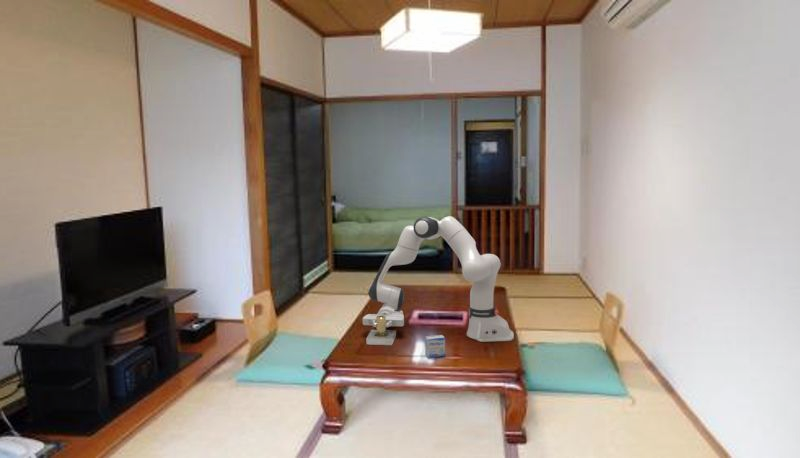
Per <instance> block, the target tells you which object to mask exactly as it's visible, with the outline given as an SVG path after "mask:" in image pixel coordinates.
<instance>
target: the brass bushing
mask: <svg viewBox="0 0 800 458" xmlns="http://www.w3.org/2000/svg"><path fill="white" fill-rule="evenodd" d="M385 324H386V317H385V316H377V317H376V326H377V327H376V330H377V336H379V337H386V330H387V327H385Z"/></svg>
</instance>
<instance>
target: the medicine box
mask: <svg viewBox="0 0 800 458" xmlns="http://www.w3.org/2000/svg"><path fill="white" fill-rule="evenodd" d="M424 347H425V348H424V352H425V354H424V355H425V356H426V357H427V358H428V359H433V357H435V358H442V357H446V338H445V336H444V335H442V334H436V335H428V336H424ZM441 356H442V357H441Z"/></svg>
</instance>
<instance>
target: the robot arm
mask: <svg viewBox="0 0 800 458" xmlns="http://www.w3.org/2000/svg"><path fill="white" fill-rule="evenodd" d="M440 238H443V239H444V241H445V242H446V243H447V244H448V245H449V247H450V248H451V249H452V251H453V252H454V253H455V255H456V256H457V258H458V259H459V262H460V264H461V273H462V277H463V278H464V279H465V280H466V281H468V282H471V283H472V285H471V286H472V287H470V293H469V296H470V297H469V308H468V317H469V321H468V327H467V331H466V336H467V337H468V338H470V339H473V340H476V341H478V342H481V343H482V342H484V343H485V342H511V341H513V340H514V339H515V336H514V335H515V334H514V331H513V330H512V329H510V327H509V324H508V321H507V320H506V319H504V318H503V317H502V316H500V315H499V310H498V308H497V307H495V306H494V292H495V285H496V281H497V277H498V274H499V270H500V268H501V265H502V264H501V260H500V258H499V257H498V256H497V255H496V254H493V253H483V254H480V252H479V251H478V249H477V246H476V245H477V243H476V241H475V239H474V238H473V237H472V236H471V234H470V233H469V231H468V230H467V229H466V228H465V226H464V225H462V224H461V223H460V221H459V220H458V219H456V218H455V217H454V216H451V215H448V216H445V217H443V218H441V220H440V219H439V218H436V217H435V218H434V217H431V216H422V217H419V218H418V219H416V220H415V221H414V224H413V225H407V226H405V227H404V228H403V230H402V232H401V233H400V236H399V238H398V242H397V245H396V247H395V248H394V250H393V251H391V252H388V253H387V254H386V256H385V258H384V260H383V262H382V263H381V266H380V267H379V269H378V271H377V273H376V276H375V278H374V279H373V281H372V282H371V283H370V285H369V287H368V290H367V291H368V293H367V295H368V297H369V298H370V299H371V301H375V302H380V303H382V306H381V308H379V310H378V312H377V313H375V314H374V313H372V314H371V313H368V314H366V315H364V316H363V317H362V325H363V326H373V328H377V326H376V317H377V316H385V317H386V324H385V327H386V328H389V327H404V326H405V315H404V312H403V310H401V309H402V308H403V304H404V301H405V297H406V294H405V292H404V290H403V288H400V287H398V286H396V285H391V284H388V283H385V282H384V279H385V276H386V274H387V273H388V271H389V269H390V268H391V267H392V266H402V265H409V264H412V263H413V262H414V261H415V260H416V258H417V255H418V253H419V250H420V246H421V244H422V242H423V241H424V240H429V241H430V240H431V241H432V240H437V239H440Z"/></svg>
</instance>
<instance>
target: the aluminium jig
mask: <svg viewBox="0 0 800 458" xmlns="http://www.w3.org/2000/svg"><path fill="white" fill-rule="evenodd" d="M396 336H397V330H396V329H395V330H390V329H386V337H379V336H377V329H371V330H370V332H369V333H368V335H367V337H366V339H365V340H366V345H369V346H370V345H371V346H372V345H373V346H376V345H377V346H393V343H394V341H395V339H396Z"/></svg>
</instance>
